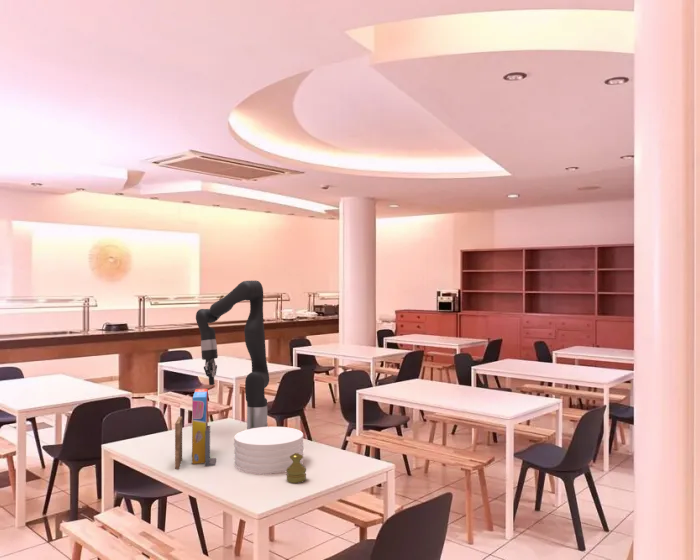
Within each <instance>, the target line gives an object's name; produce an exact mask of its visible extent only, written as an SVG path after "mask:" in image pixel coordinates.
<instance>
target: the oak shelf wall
mask: <svg viewBox="0 0 700 560" xmlns="http://www.w3.org/2000/svg"><path fill="white" fill-rule="evenodd" d="M174 427H175V428H174V430H175V431H174V469H175V470H179V469H180V467H181V465H180V464H182V462H183V416H178V417H177V419H176V420H175V424H174ZM181 461H182V462H181Z"/></svg>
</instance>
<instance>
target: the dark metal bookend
mask: <svg viewBox="0 0 700 560" xmlns="http://www.w3.org/2000/svg"><path fill="white" fill-rule="evenodd" d="M216 463H217V457H215V458H214V457H213V458H211V425H208V426H206V430H205V463H204V466H205V467H210V466H216Z"/></svg>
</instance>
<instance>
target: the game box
mask: <svg viewBox="0 0 700 560" xmlns="http://www.w3.org/2000/svg"><path fill="white" fill-rule="evenodd" d="M192 395H193V396H192V404H191V405H192V411H191V413H192V414H191V415H192V417H191V418H192V419H191V420H192V421H191V423H192V426H191V427H192V429H191V433H192V434H191V435H192V436H191V440H192V441H191V448H192V449H191V464H192V465H194V464H196V465H197V464H205V430H206V426H209V425H208V424H209V422H208V421H209V417H208V415H209V413H208V412H209V409H208V408H209V406H208V405H209V403H208V402H209V397H208V396H209V391H208V388H196V389H195V390H194V393H193V394H192Z"/></svg>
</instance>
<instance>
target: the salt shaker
mask: <svg viewBox="0 0 700 560" xmlns="http://www.w3.org/2000/svg"><path fill="white" fill-rule="evenodd" d="M302 458H303V459H304V454H303V455H301V454H299V453H294V454H292V455H290V459H292V461H293V463H292V464H291V465H290V466H289V467H287V469H286V471H287V472H286V482H288V483H290V482H291V484H299V483H298V482H301V483H303V482H302V481H304V482H306V480H307V473H306V472H307V467H306V466H305V465H303V464H301V463H300V460H301V459H302Z"/></svg>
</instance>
